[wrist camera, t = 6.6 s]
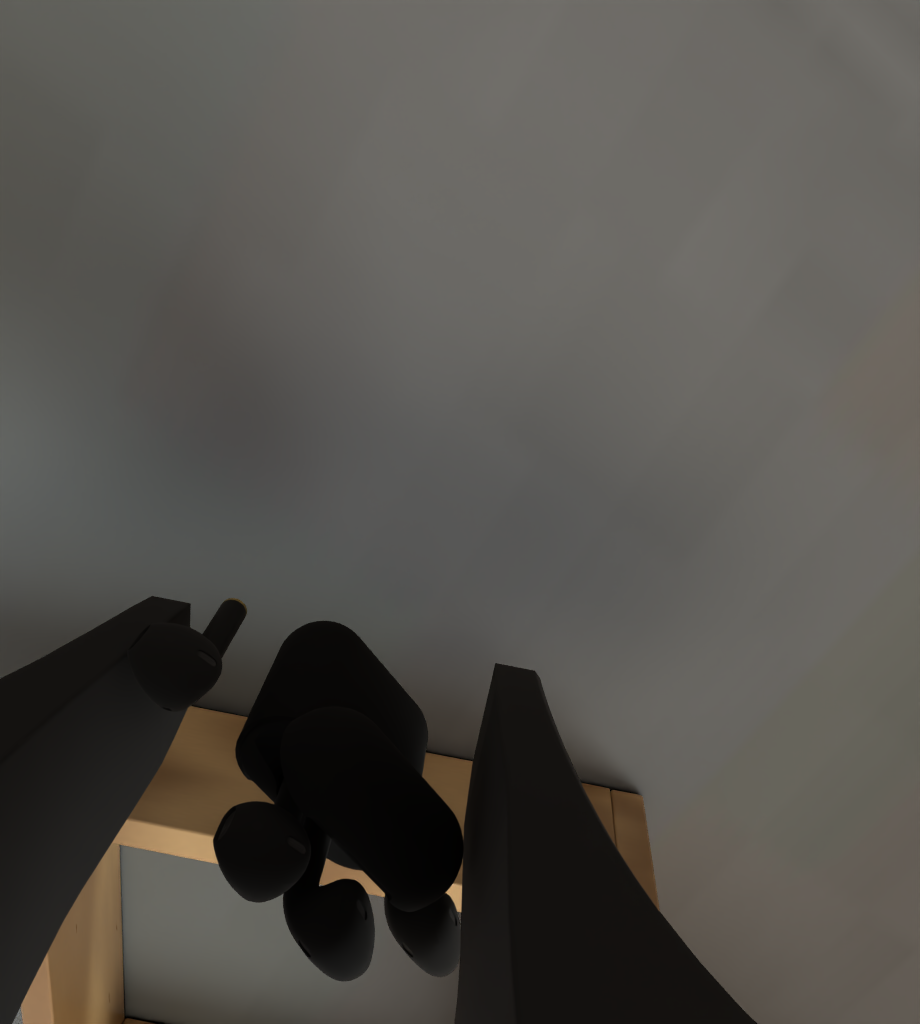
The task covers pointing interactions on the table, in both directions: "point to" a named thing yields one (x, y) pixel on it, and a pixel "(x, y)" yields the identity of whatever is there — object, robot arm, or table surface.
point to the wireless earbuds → (325, 791)
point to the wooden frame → (189, 833)
